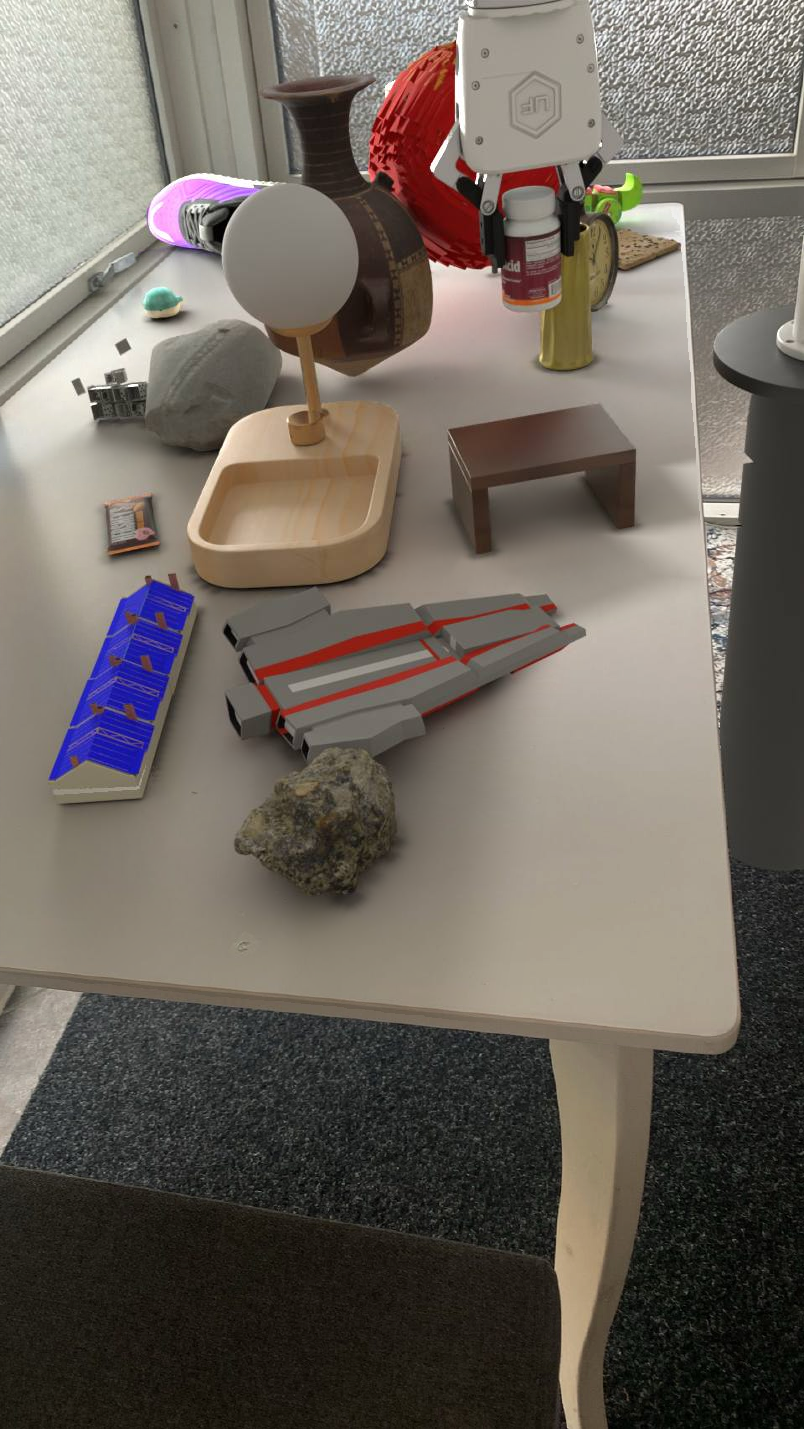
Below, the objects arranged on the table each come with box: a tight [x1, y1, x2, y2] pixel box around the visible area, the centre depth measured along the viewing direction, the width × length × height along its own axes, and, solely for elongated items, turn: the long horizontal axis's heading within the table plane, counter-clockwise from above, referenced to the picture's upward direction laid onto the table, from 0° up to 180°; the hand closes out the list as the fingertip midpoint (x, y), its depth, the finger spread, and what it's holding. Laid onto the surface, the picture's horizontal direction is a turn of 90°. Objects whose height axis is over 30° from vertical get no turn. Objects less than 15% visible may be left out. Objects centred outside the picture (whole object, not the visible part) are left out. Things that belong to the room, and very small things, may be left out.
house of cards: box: [70, 337, 148, 422], centre depth 127 cm, size 9×9×8 cm
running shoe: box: [145, 172, 286, 256], centre depth 172 cm, size 11×29×15 cm
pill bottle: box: [500, 186, 561, 313], centre depth 88 cm, size 5×5×8 cm
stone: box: [144, 318, 283, 452], centre depth 125 cm, size 26×7×15 cm
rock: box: [233, 747, 398, 897], centre depth 67 cm, size 6×9×10 cm
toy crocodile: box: [584, 172, 643, 226], centre depth 164 cm, size 20×7×6 cm, turn 98°
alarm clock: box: [580, 189, 619, 313], centre depth 132 cm, size 11×5×16 cm, turn 146°
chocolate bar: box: [103, 492, 160, 556], centre depth 106 cm, size 11×5×1 cm, turn 14°
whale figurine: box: [141, 286, 185, 319], centre depth 154 cm, size 6×7×4 cm
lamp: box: [186, 182, 403, 589], centre depth 99 cm, size 33×17×25 cm, turn 176°
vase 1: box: [257, 73, 434, 378], centre depth 121 cm, size 23×19×30 cm
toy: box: [367, 39, 560, 271], centre depth 128 cm, size 23×24×30 cm
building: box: [47, 572, 198, 805], centre depth 83 cm, size 23×6×4 cm, turn 179°
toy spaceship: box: [221, 585, 587, 767], centre depth 81 cm, size 19×27×5 cm
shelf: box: [446, 403, 637, 555], centre depth 98 cm, size 14×10×7 cm
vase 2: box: [538, 223, 595, 371], centre depth 122 cm, size 6×6×14 cm
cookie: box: [616, 228, 682, 270], centre depth 155 cm, size 12×12×1 cm
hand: (530, 255), depth 88 cm, fingers closed on pill bottle, 4 cm apart
